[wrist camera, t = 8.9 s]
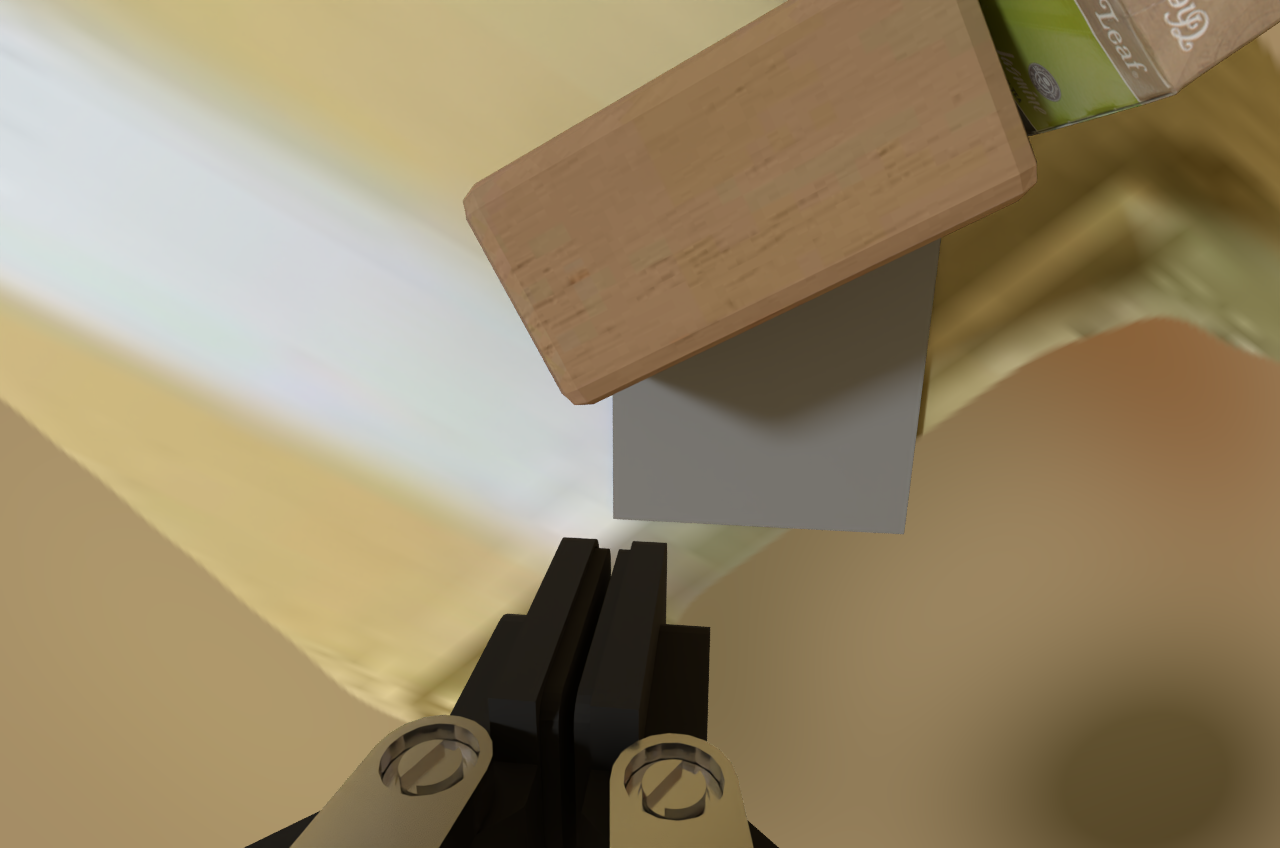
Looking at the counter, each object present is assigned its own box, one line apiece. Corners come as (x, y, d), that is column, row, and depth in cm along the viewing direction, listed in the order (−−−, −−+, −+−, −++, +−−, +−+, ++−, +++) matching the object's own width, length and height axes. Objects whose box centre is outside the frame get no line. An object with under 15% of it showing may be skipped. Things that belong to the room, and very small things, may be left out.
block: (606, 367, 39) (967, 190, 35) (568, 420, 30) (1057, 186, 25) (515, 197, 37) (888, -16, 33) (444, 196, 28) (954, -104, 23)
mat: (612, 110, 36) (611, 109, 36) (954, 107, 34) (957, 107, 34) (614, 516, 42) (613, 518, 42) (902, 531, 41) (903, 534, 40)
